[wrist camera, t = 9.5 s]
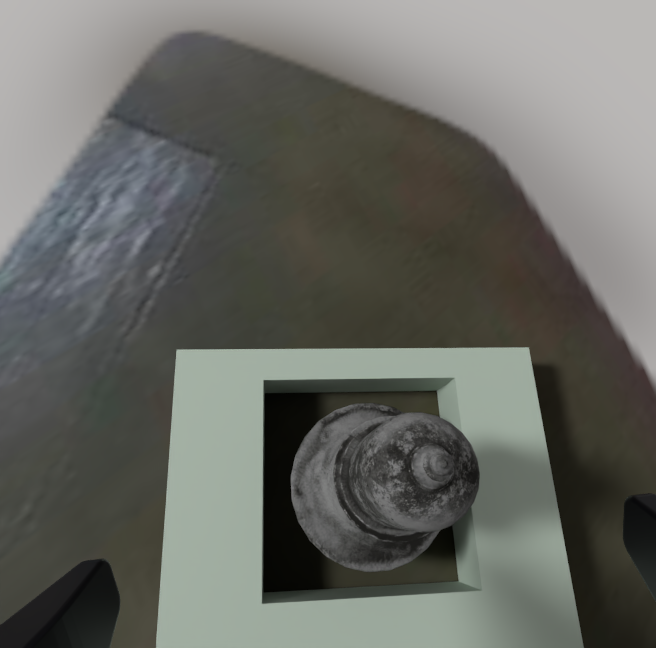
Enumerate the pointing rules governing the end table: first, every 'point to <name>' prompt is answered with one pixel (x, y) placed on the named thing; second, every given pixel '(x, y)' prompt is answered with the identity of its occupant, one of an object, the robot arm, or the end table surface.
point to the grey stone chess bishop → (381, 484)
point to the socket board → (374, 601)
